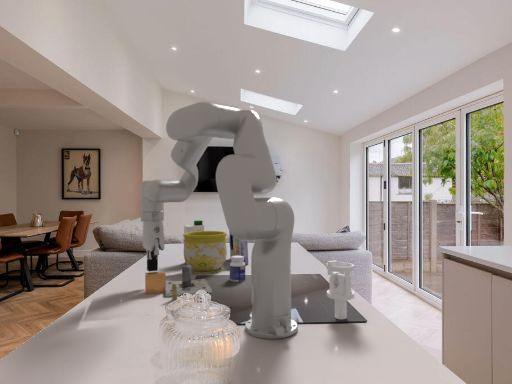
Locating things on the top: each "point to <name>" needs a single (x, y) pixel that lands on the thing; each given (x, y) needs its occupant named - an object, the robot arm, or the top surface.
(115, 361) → the top surface
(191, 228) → the milk carton
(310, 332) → the top surface
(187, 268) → the board
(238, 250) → the cake pan box
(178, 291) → the flange plate
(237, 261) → the pill bottle
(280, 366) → the top surface
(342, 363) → the top surface
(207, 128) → the robot arm
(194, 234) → the flowerpot
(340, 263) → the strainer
